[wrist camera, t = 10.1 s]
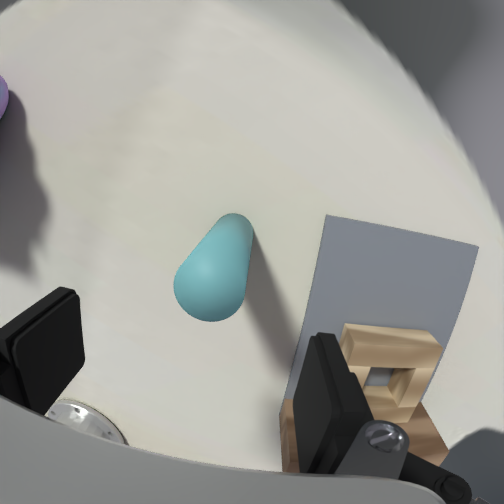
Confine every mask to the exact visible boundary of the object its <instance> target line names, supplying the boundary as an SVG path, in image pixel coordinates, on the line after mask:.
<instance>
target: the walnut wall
mask: <svg viewBox="0 0 504 504" xmlns="http://www.w3.org/2000/svg"><path fill="white" fill-rule="evenodd" d="M292 405H293V399H284V403H283V406H282V410H281V413H280V417H279V418H280V435H281V452H282V471H283V472H289V473H300V471H299V461H298V452H297V442H296V433H295V424H294V415H293V406H292ZM394 424H396V425H398V426H400V427H401V428H402V429H403V430H404V431H405V432H406V433H407V435H408V437H409V440H410V443H409V448H408V452H410V453H412V454H414V455H416V456H418V457H420V458H422V459H424V460H426V461H428V462H430V463H432V464H434V465H436V466H438V467H439V465H440V464H441V463H442V461H443V460H444V458H445V457H446V456H447V454H448V453H449V450H448V448H447V446H446V445H445V443H444V441H443V439H442V438H441V436H440V434H439V432H438V431H437V429H436V427H435V425H434V424H433V422H432V420H431V418H430V417H429V415H428V413H427V412H426V410H425V408H424V407H423V405H422V403H421V402H418V404H417V406H416V408H415V410H414V412H413V414H412V415H411V417H410V419H409V421H408V422H405V423H394Z"/></svg>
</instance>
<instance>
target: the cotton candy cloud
mask: <svg viewBox="0 0 504 504" xmlns="http://www.w3.org/2000/svg"><path fill="white" fill-rule="evenodd" d="M8 99H9V94H8V87H7V83H6V82H5V80H4V79H3V78H2V76H1V75H0V119H1V117H2V115H3V114H4V112H5V109H6V107H7V104H8Z"/></svg>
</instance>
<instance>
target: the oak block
mask: <svg viewBox="0 0 504 504" xmlns="http://www.w3.org/2000/svg"><path fill="white" fill-rule="evenodd" d="M339 345H340V348H341V350H342V353H343V355H344V358H345V360H346V363H347V365H348V368H349V370H350V372H354V373H355V374H356V376H357V378H358V380H359V383H360V385H361V388H362V390H363V393H364V395H365V397H366V400H367V402H368V405H369V407H370V410H371V412H372V415H373V417H374V420H385V421H389V422H392V423H405V422H408V421H409V419H410V417H411V415H412V414H413V412H414V410H415V408H416V406H417V404H418V402H419V400H420V398H421V396H422V394H423V392H424V390H425V388H426V386H427V384H428V382H429V380H430V378H431V375H432V373H433V371H434V369H435V367H436V364H437V362H438V360H439V357H440V355H441V353H442V350H443V347H442V346H441V345H440V344H439V343H438V342H437V341H436V339H435V338H434V337H433V336H432V335H431V334H430V333H429V332H428V331H427V330H415V329H402V328H390V327H378V326H368V325H357V324H348V323H345V324H344V328H343V331H342V335H341V338H340V341H339ZM371 367H387V368H395V369H394V371H393V373H392V376H391V378H390V381H389V383H388V385H387V386H364V383H365V381H366V378H367V376H368V373H369V371H370V368H371Z"/></svg>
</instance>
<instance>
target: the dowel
mask: <svg viewBox="0 0 504 504" xmlns="http://www.w3.org/2000/svg"><path fill="white" fill-rule="evenodd" d="M252 241H253V227H252V225H251V223H250V221H249V220H248V219H247V218H245V217H244V216H242V215H240V214H235V213H232V214H227V215H225V216H223V217H221V218H220V219H219V220H218V221H217V222H216V224H215V225H214V226H213V227H212V228H211V230H210V231H209V232H208V233H207V234H206V236H205V237H204V238H203V239H202V240H201V242H200V243H199V244H198V245H197V247H196V248H195V249H194V250H193V251H192V253H191V254H190V255H189V256H188V257H187V259H186V260H185V261H184V262H183V264H182V265H181V266H180V267H179V269H178V271H177V273H176V275H175V278H174V293H175V296H176V299H177V301H178V303H179V304H180V306H181V307H182V308H183V309H184V310H185V311H186V312H187V313H188V314H189V315H191V316H192V317H194V318H197V319H199V320H203V321H209V322H215V321H221V320H224V319H226V318H228V317H230V316H232V315H233V314H234V313H235V312H236V311H237V310H238V309H239V308H240V306H241V304H242V302H243V300H244V296H245V289H246V282H247V275H248V269H249V262H250V255H251V248H252Z"/></svg>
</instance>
